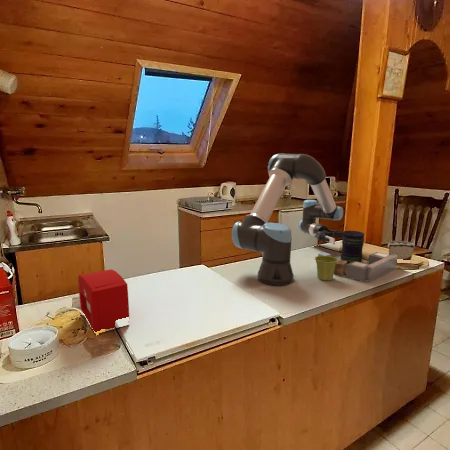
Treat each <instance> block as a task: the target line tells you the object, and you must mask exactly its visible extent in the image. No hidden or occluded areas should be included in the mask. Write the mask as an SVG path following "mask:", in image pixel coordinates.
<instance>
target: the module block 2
mask: <svg viewBox="0 0 450 450" xmlns="http://www.w3.org/2000/svg"><path fill="white" fill-rule="evenodd" d="M388 256H390V255H389V253H385V252H379V251H376V252H373V253H371V254H369V255H368V262H367V264H368V265H370V264H372V263H375V262H377V261H379V260H381V259H383V258H386V257H388Z"/></svg>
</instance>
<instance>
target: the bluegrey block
mask: <svg viewBox="0 0 450 450" xmlns="http://www.w3.org/2000/svg"><path fill="white" fill-rule="evenodd" d="M317 254H318V255H317V256H331V257H332V254H331V253H327V252H324V251H323V252H320V253H317Z"/></svg>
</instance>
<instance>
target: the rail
mask: <svg viewBox="0 0 450 450" xmlns="http://www.w3.org/2000/svg"><path fill="white" fill-rule="evenodd" d="M397 257H398V255H395V254H392V255H390V256H388V257H386V258H383V259H381V260H379V261H377V262H375V263H372V264H370V265H368V266H367V271H366V281H365V282H368V283H371V282H373V281H375V280H378V278H381V277H382V276H384V275H387V274H389V273H390V272H392V271H394V270H396V269H397V265H398V264H397Z"/></svg>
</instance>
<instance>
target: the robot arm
mask: <svg viewBox="0 0 450 450" xmlns="http://www.w3.org/2000/svg"><path fill="white" fill-rule="evenodd" d="M267 164H268V166H267V173H268V176H269V178H268V180H267V181H266V184H265V186H264V188H263V189H262V191H261V193H260V195H259V197H258V199H257V201H256V202H255V204H254V207H253V208H252V209H251V211H250V214H246V215H245V216H244V217H243V219H242V221H240V220H238V221H236V222H235V223H234V224H233V226H232V229H231V240H232V243H233V244H234V246H235V247H236V248H238V249H242V250H247V251H251V252H256V253H259V254H260V253H261V254H262V257H261V258H262V259H261V262H260V263H261V264H260V266H259V269H258V272H257V280H258V281H259V282H260V283H262V284H264V285H267V286H268V285H269V286H274V287H276V286H277V287H282V286H283V287H284V286H288V285H291V284H292V283H294V277H295V275H294V272H293V267H292V265H291V257H292V256H291V254H292V253H291V252H292V239H293V237H292V230H291V228H290V227H289V226H287V225H285V224H282V223H278V222H269V220H270V218H271V216H272V215H273V213H274V210H275V208H276V206H277V204H278V202H279V200H280V198H281V196H282V194H283V193H284V190H285V188H286V186H289V185H291V183H292V182H293V180H295V179H297V180H304V181H305V182H306V184H307V185H309V186H310V187H311V190H312V191H313V194H314V196H315V198H316V199H305V200H304V201H303V207H302V219H301V220H300V221H299V222H298V229H299V231H300V232H303V233H304V234H307V235H311V236H312V237H314V238H316V239H317V240H318V241H319V242H321V243H325V242H327V243H329V244H332V245H335V244H336V239H335V238H342V237H343V232H344V231H342V230H338V229H333V230H332V229H329V227H328V226H326V225H324V224H322V223H317V222H316V221H317V219H322V220H331V221H340V220H342V219H343V216H344V209H343V207H341V206H339V205H337V204H336V203H335V200H334V198H333V195H332V192H331V189H330V187H329V184H328V183H327V180H326V177H327V174H326V171H325V169H324V167H323V166H322V164H321V163H320V162H319V161H317V160H316V159H315V157H313V156H311V155H309V154H307V153H305V154H304V153H285V152H284V153H282V152H281V153H277V154H274V155H272V157H270V159H269V162H268V163H267Z"/></svg>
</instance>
